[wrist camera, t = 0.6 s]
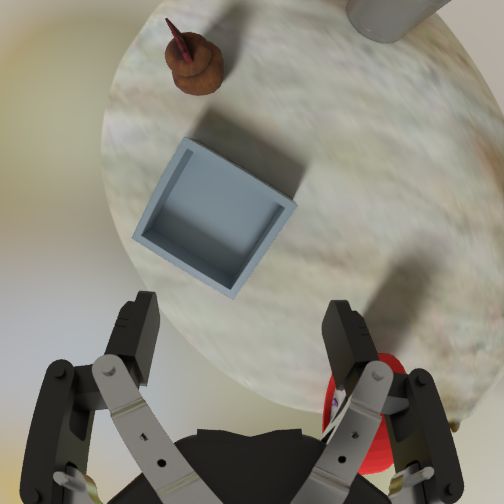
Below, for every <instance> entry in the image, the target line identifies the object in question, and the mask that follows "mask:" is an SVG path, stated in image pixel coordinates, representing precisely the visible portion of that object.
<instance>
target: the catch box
mask: <svg viewBox="0 0 504 504" xmlns="http://www.w3.org/2000/svg"><path fill="white" fill-rule="evenodd" d="M297 206H298V205H297V204H296V203H295V202H294V201H293V200H292V199H291V198H289V197H288V196H286V195H285V194H283V193H282V192H280V191H279V190H277V189H275V188H274V187H272V186H271V185H269V184H268V183H266V182H264V181H263V180H261V179H260V178H258V177H256V176H255V175H253V174H252V173H250V172H248V171H247V170H245V169H244V168H242V167H240V166H239V165H237V164H235V163H234V162H232V161H230V160H229V159H227V158H225V157H224V156H222V155H220V154H218V153H217V152H215V151H213V150H212V149H210V148H208V147H206V146H205V145H203V144H201V143H199V142H198V141H196V140H194V139H190V138H187V137H184V138H183V140H182V142H181V144H180V145H179V147H178V149H177V150H176V152H175V154H174V156H173V157H172V159H171V161H170V163H169V165H168V166H167V168H166V170H165V172H164V174H163V176H162V177H161V179H160V181H159V183H158V185H157V187H156V189H155V191H154V193H153V195H152V197H151V199H150V201H149V203H148V205H147V207H146V209H145V211H144V213H143V215H142V217H141V219H140V221H139V223H138V225H137V227H136V230H135V232H134V234H133V236H132V239H134V240H135V241H137V242H139V243H140V244H142V245H143V246H145V247H146V248H148V249H150V250H151V251H153V252H154V253H156V254H157V255H159V256H161V257H162V258H164V259H165V260H167V261H169V262H170V263H172V264H174V265H175V266H177V267H178V268H180V269H182V270H183V271H185V272H187V273H188V274H190V275H192V276H193V277H195V278H197V279H198V280H200V281H202V282H203V283H205V284H207V285H208V286H210V287H212V288H213V289H215V290H217V291H219V292H220V293H222V294H224V295H225V296H227V297H229V298H231V299H232V300H234V298H235V297H236V295H237V294H238V292H239V291H240V290H241V288H242V287H243V285H244V284H245V282H246V281H247V279H248V278H249V276H250V275H251V274H252V272H253V271H254V269H255V268H256V266H257V265H258V263H259V262H260V260H261V259H262V257H263V256H264V254H265V253H266V252H267V250H268V249H269V247H270V246H271V244H272V243H273V241H274V240H275V238H276V237H277V235H278V234H279V232H280V231H281V229H282V228H283V226H284V225H285V223H286V222H287V220H288V219H289V218H290V216H291V215H292V213H293V212H294V210H295V209H296V207H297Z"/></svg>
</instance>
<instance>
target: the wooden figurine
mask: <svg viewBox="0 0 504 504" xmlns="http://www.w3.org/2000/svg"><path fill="white" fill-rule="evenodd" d="M165 20H166V22H167V24H168V26H169V28H170V29H171V31H172V34H173V36H174V38H173V39H172V40H171V41H170V43H169V44H168V46H167V48H166V51H165V59H166V63H167V65H168V66H169V68H170V69H171V70H172V75H173V79H174V83H175V85H176V86H177V87H178V88H179V89H180V90H182V91H183V92H184V93H187V94H191V95H196V96H199V95H207V94H211V93H214V92H215V91H216V90H217V89H218V88H219V87H220V86H221V83H222V80H223V73H224V67H223V58H222V54H221V51H220V49H219V48H218V47H216V46H215V45H214V44H213V43H211V42H209V41H207V40H206V39H205V38H204V37H202V36H201V35H200V34H196V33H192V32H185V33H181V32H180V31H179V30H178V29H177V28H176V27H175V26H174V25H173V24H172V23H171V22H170V21H169V20H168V18H165Z"/></svg>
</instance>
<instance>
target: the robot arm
mask: <svg viewBox="0 0 504 504" xmlns="http://www.w3.org/2000/svg"><path fill="white" fill-rule="evenodd" d="M450 1H451V0H350V1H349V3H348V5H347V15H348V18H349V20H350V22H351V23H352V25H353V26H354V27H355V28H356V29H357V30H358V31H359V32H360V33H361V34H363V35H364V36H366V37H367V38H369V39H371V40H374V41H376V42H380V43H393V42H396V41H398V40H399V39H400V38H402V37H403V36H404V35H405V34H407V33H408V32H409V31H411V30H412V29H413V28H415V27H416V26H417V25H419V24H420V23H421V22H423V21H424V20H425V19H427V18H428V17H429V16H431V15H432V14H433V13H435V12H436V11H437V10H439V9H440V8H442V7H443V6H444V5H446V4H447V3H448V2H450ZM159 327H160V314H159V308H158V302H157V296H156V293H155V292H149V291H139V292H138V294H137V297H136V300H135V302H132V301H128V302H127V303H126V304H125V305H124V306H123V307H122V308H121V310H120V312H119V315H118V317H117V320H116V323H115V327H114V328H113V331H112V334H111V336H110V339H109V342H108V345H107V348H106V351H105V353H104V355H103V356H101V357H99V358H98V359H97V360H96V361H95V362H94V364H91V365H85V366H75V367H73V365H72V364H71V363H70V362H69V361H67V360H63V359H60V360H56V361H54V362H52V363H51V364H50V365H49V367H48V368H47V371H46V374H45V377H44V380H43V383H42V386H41V389H40V393H39V396H38V399H37V403H36V407H35V410H34V414H33V418H32V422H31V427H30V430H29V435H28V439H27V445H26V449H25V455H24V460H23V467H22V473H21V481H20V497H21V500H22V502H23V503H24V504H103V503H102V502H101V501H100V499H99V497H98V494H97V487H96V484H95V482H94V481H93V479H92V478H90V477H89V476H88V475H86V471H87V462H88V453H89V446H90V439H91V432H92V425H93V420H94V415H95V410H102V409H109V411H110V413H111V418H112V420H113V422H114V424H115V426H116V428H117V430H118V432H119V434H120V435H121V437H122V439H123V441H124V442H125V444H126V446H127V448H128V449H129V451H130V453H131V455H132V456H133V458H134V459H135V461H136V463H137V464H138V466H139V467H140V469H141V471H142V473H141V474H140V475H139V476H137V477H136V478H135V479H134V480H133V481H132V482H131V483H130V484H128V485H127V486H126V487H125V488H124V489H123V490H122V491H120V492H119V493H118V494H117V495H116V496H114V497H113V498H112V499H111V500H110V501H109V502H108V503H107V504H453V503H455V502H457V501H458V500H459V499H460V498H461V496H462V494H463V491H464V482H463V477H462V472H461V468H460V464H459V460H458V456H457V452H456V448H455V445H454V441H453V437H452V434H451V430H450V427H449V424H448V421H447V418H446V414H445V411H444V408H443V405H442V402H441V400H440V397H439V394H438V391H437V388H436V386H435V383H434V380H433V378H432V376H431V374H430V373H429V372H428V371H426V370H424V369H421V368H417V369H414V370H412V371H411V373H410V374H403V373H397V372H393V371H392V370H391V368H390V367H389V366H388V365H387V364H386V363H384V362H381V361H380V359H379V356H378V354H377V351H376V348H375V346H374V343H373V341H372V338H371V336H370V333H369V331H368V329H367V326H366V324H365V321H364V319H363V317H362V316H361V315H360V314H359V313H358V312H357V311H352V310H351V307H350V305H349V302H348V301H347V300H331V301H330V303H329V306H328V308H327V311H326V314H325V316H324V319H323V322H322V336H323V339H324V343H325V347H326V351H327V354H328V358H329V362H330V366H331V370H332V374H333V378H334V382H335V386H336V390H345V393H346V395H345V397H344V398H343V400H342V402H341V404H340V406H339V407H338V409H337V411H336V413H335V415H334V416H333V418H332V420H331V422H330V424H329V425H328V427H327V428H326V430H325V431H324V432H323V434H322V436H321V437H320V438H319V440H318V439H316V438H313V437H311V436H307V435H303V434H302V430H301V429H290V430H275V431H272V432H269V433H264V434H261V435H256V436H252V437H248V436H244V435H239V434H235V433H231V432H227V431H224V430H223V431H222V430H205V429H204V430H203V429H197V435H191V436H188V437H185V438H182V439H180V440H178V441H177V442H175V443H173V442H172V441H171V439H170V438H169V436H168V435H167V433H166V432H165V431H164V429H163V428H162V426H161V425H160V423H159V422H158V420H157V419H156V417H155V415H154V414H153V412H152V411H151V409H150V408H149V406H148V404H147V403H146V401H145V400H144V399H143V397H142V396H141V394H140V392H139V386H147V382H148V378H149V373H150V368H151V363H152V358H153V353H154V349H155V344H156V340H157V335H158V331H159ZM380 413H382V414H384V418H385V422H386V427H387V431H388V436H389V441H390V446H391V450H392V456H393V461H394V466H395V471H396V474H395V475H394V476H393V477H392V479H391V482H390V486H389V491H390V492H389V494H388V496H387V495H385V494H384V493H383V492H382V491H380V490H379V489H378V488H377V487H375V486H374V485H373V484H372V483H370V482H369V481H368V480H367V479H365V478H364V477H363V476H362V475H361V474H359V473H358V470H359V468H360V466H361V464H362V462H363V460H364V458H365V456H366V454H367V452H368V450H369V448H370V446H371V443H372V441H373V439H374V437H375V434H376V432H377V430H378V428H379V425H380V423H381V420H382V415H380Z"/></svg>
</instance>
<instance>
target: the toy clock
mask: <svg viewBox="0 0 504 504" xmlns="http://www.w3.org/2000/svg"><path fill="white" fill-rule="evenodd" d="M377 354H378V356H379V359H380V361H381V362H384V363H386V364H387V365H388V366H389V367H390V368H391V370H392V371H393V372H397V373H403V374H407V373H406V371H405V369H404V367H403V366H402V364H401V363H400V361H399V360H398V359H397V358H395V357H394V356H393V355H390V354H387V353H377ZM345 395H346V393H345V390H336V386H335V382H334V378H333V374H332V376H331V378H330V381H329V385H328V389H327V393H326V398H325V404H324V411H323V426H322V427H323V428H322V434H323V432H324V431H325V430H326V428H327V427H328V425H329V424H330V422H331V420H332V418H333V416H334V415H335V413H336V411H337V409H338V407H339V406H340V404H341V402H342V400H343V398H344V397H345ZM380 415H382V420H381V423H380V425H379V428H378V430H377V432H376V434H375V437H374V439H373V441H372V443H371V446H370V448H369V450H368V452H367V454H366V456H365V458H364V460H363V462H362V464H361V466H360V468H359V470H358V473H359V474H361V475H365V474H372V473H378V472H383V471H385V470H386V469H388V468H390V467H391V466H392V465H393V464H394V461H393V456H392V450H391V446H390V441H389V436H388V431H387V427H386V422H385V418H384V414H382V413H380Z"/></svg>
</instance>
